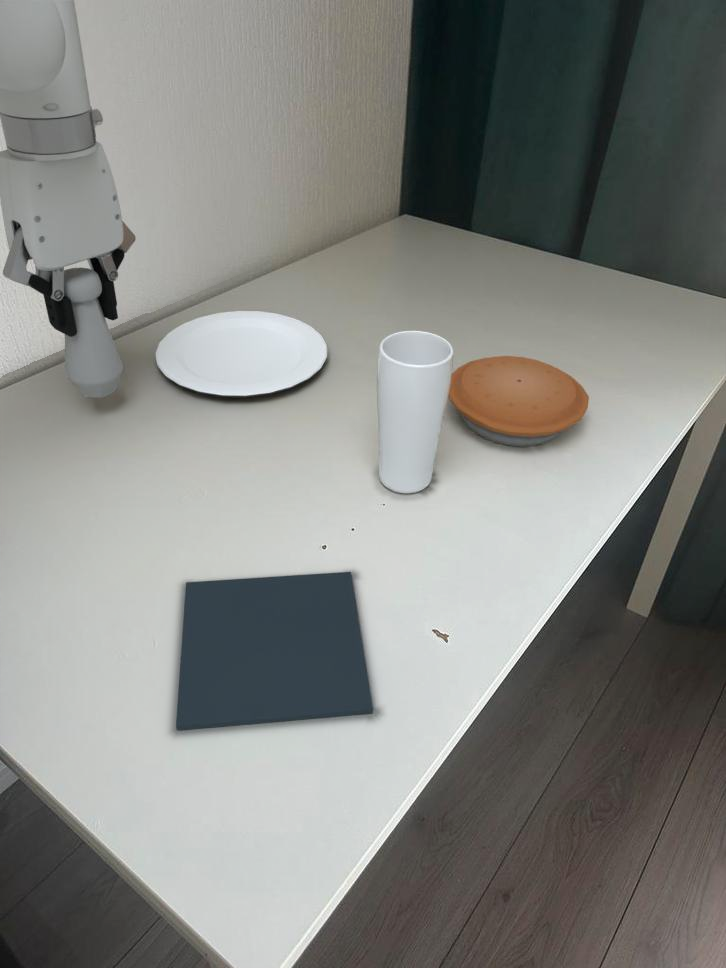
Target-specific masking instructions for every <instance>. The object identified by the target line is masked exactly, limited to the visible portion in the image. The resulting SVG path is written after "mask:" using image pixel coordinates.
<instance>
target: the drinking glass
mask: <svg viewBox="0 0 726 968" xmlns="http://www.w3.org/2000/svg"><path fill="white" fill-rule="evenodd" d="M378 348H379V349H378V358H377V359H378V360H377V365H376V366H377V368H376V403H377V404H376V409H377V427H378V451H379V453H378V454H379V455H378V456H379V463H378V477H379V480H380V482H381V483H382V485H383V486H384V487H386V488H387V489H389V490H391V491H393V492H395V493H399V494H415V493H418V492H421V491H423V490H424V489H426V488H427V487H428V486H429V485H430V483H431V481H432V478H433V471H434V464H435V459H436V454H437V449H438V446H439V441H440V436H441V433H442V432H441V431H442V427H443V422H444V419H445V414H446V409H447V405H448V401H449V391H450V385H451V377H452V373H453V367H454V366H453V364H454V348H453V345H452V344H451V343H450V341H448V340H447V339H445V338H444V337H442V336H440V335H438V334H435V333H432V332H429V331H422V330H403V331H397V332H394V333H391V334H389V335H387V336H386V337H384V338H383V339H382V340H381V341H380V343H379V347H378Z"/></svg>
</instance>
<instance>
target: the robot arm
mask: <svg viewBox="0 0 726 968" xmlns="http://www.w3.org/2000/svg"><path fill="white" fill-rule="evenodd" d="M80 34H81V33H80V29H79V22H78V15H77V9H76V3H75V0H0V123H1V127H2V132H3V136H4V141H5V146H6V149H5V150H1V151H0V206H1V212H2V213H1V215H2V221H3V226H4V232H5V236H6V241H7V246H8V249H9V251H8V254H7V257H6V261H5V263H4V267H3V269H2V276H3V277H5V278H6V279H9V280H11V281H12V282H15V283H17V284H21V285H23V286H27V287H29V288H31V289H33V290H35V291H36V292H38V293H40V294H41V295H43V299H44V305H45V308H46V313H47V317H48V318H47V319H48V322H49V324H50V326H51V327H53V329H55V330H56V331H58V332H59V333H62V334H64V335H65V334H66V335H68V336H70V337H72V336H75V335H76V333H77V328H76V323H75V318H74V313H73V308H72V303H71V300H70V298H68V297H66V296H64V270H65V268H66V267H68V266H71V265H72V266H73V265H75V264H78V263H82V262H84V261H87V263H88V266H89V269H91V270H93V271H95V272H96V273H97V274H98V276H99V278H100V281H101V285H102V292H101V294H100V295H99V297H97V298H98V300H99V303H100V306H101V309H102V311H103V314H104V317H105V319H107V320H110V321H115V320H117V319H118V318H119V316H118V308H117V306H118V300H117V294H116V288H115V283H114V282H116V281H117V280H118V277H119V272H118V270H119V268H120V266H121V265H122V262H123V261H124V258H125V254H127V253H128V251H129V250H130V249H131V247H132V246H133V245H134V243H135V241H136V237H137V236H136V235H135V234H134V232H133V231H132V230H131V229H130V227H128V225H127V224H126V223H125V222H124V220H123V216H122V211H121V206H120V201H119V196H118V191H117V188H116V183H115V180H114V179H115V178H114V176H113V173H112V169H111V166H110V163H109V160H108V157H107V154H106V152H105V149H104V147H103V144H102V143H101V142H99V141H97V139H96V138H97V133H96V127H97V126H101V125H102V124H103V122H104V119H103V115H102V112H101V111H100V110H99V109H98V108H94V109H92V106H91V100H90V99H91V98H90V93H89V87H88V81H87V73H86V67H85V61H84V53H83V48H82V42H81V35H80ZM30 260H32V261H33V263H34V266H35V267H34V269H35V273H34V272H32V271H28V270H27V265H28V263H29V261H30Z"/></svg>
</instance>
